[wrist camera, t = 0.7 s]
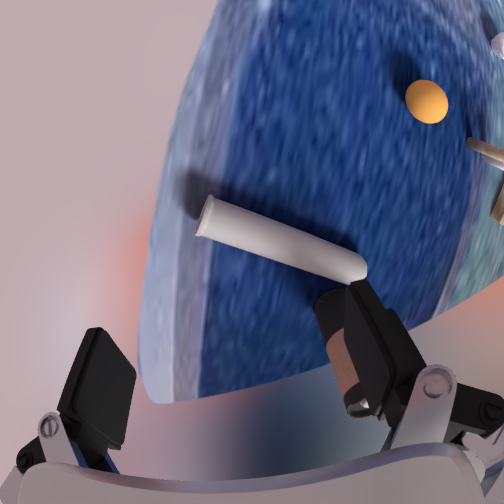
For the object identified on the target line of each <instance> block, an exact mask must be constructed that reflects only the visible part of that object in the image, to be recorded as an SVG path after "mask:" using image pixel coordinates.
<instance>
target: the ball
mask: <svg viewBox="0 0 504 504" xmlns="http://www.w3.org/2000/svg"><path fill="white" fill-rule="evenodd" d="M405 99H406V104H407V107H408V109H409V111H410V112H411V114H412V115H413V116H414V117H415V118H417V119H418V120H420V121H422V122H424V123H436V122H439V121H440V120H442V119H443V118H444V117H445V115H446V113H447V110H448V101H447V98H446V95H445V93H444V92H443V90H442V89H441V88H440V87H439V86H438V85H437V84H435V83H434V82H431V81H428V80H418V81H415V82H413V83H412V84H411V85H410V86H409V87H408V89H407V91H406V96H405Z"/></svg>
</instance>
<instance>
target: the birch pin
mask: <svg viewBox="0 0 504 504" xmlns="http://www.w3.org/2000/svg"><path fill="white" fill-rule="evenodd" d="M466 143H467V147H468V148H470V149H472V150H475V151H477V152H480V153H482V154H485V155H487V156H489V157H492V158H494V159H496V160H499V161H501V162H503V163H504V149H502V148H499V147H497V146H494V145H492V144H489V143H486V142H484V141H481V140H478V139H475V138H472V137H468V139H467V142H466Z"/></svg>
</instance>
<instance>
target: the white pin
mask: <svg viewBox="0 0 504 504" xmlns="http://www.w3.org/2000/svg"><path fill="white" fill-rule="evenodd" d="M481 159H482V160H483V161H485V162H487V163H489V164H491V165H493V166H496V167H498V168H500V169H502V170H504V163H503V162H501V161H499V160H496V159H494V158H492V157H489V156H487V155H485V154H482V153H481Z"/></svg>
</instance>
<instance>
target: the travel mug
mask: <svg viewBox="0 0 504 504" xmlns="http://www.w3.org/2000/svg"><path fill="white" fill-rule="evenodd" d="M345 290H346V289H342V288H337V289H332V290H329V291H327V292H326V293H324V294H323V295H321V296H320V297H319V299H318V300H317V302H316V304H315V309H314V310H315V314H316V318H317V321H318V324H319V327H320V331H321V334H322V337H323V341H324V344H325V347H326V350H327V354H328V356H329V359H330V362H331V365H332V367H333V371H334V373H335V377H336V379H337V382H338V385H339V388H340V391H341V394H342V397H343V400H344V403H345V406H346V409H347V413H348V415H349V416H350V417H352V418H362V417H367V416H370V415H372V414H371V411H370V409H369V406H368V403H367V400H366V398H365V395H364V392H363V389H362V387H361V384H360V381H359V379H358V376H357V373H356V371H355V368H354V366H353V363H352V360H351V358H350V355H349V353H348V350H347V348H346V345H345V342H344V317H345Z"/></svg>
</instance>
